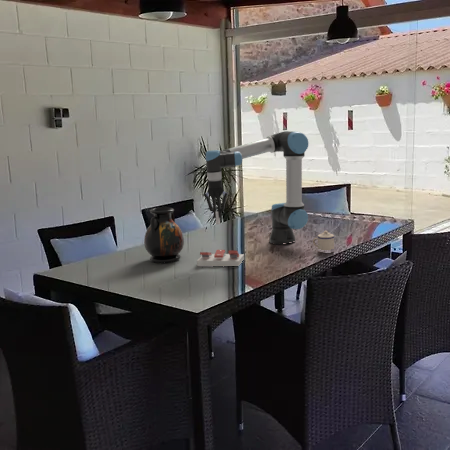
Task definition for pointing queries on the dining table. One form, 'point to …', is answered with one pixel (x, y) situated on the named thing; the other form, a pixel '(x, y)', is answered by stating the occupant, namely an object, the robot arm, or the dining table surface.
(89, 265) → the dining table surface
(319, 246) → the teacup with lid
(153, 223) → the amphora vase
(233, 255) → the rocker
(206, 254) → the rocker
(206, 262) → the power strip
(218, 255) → the rocker
